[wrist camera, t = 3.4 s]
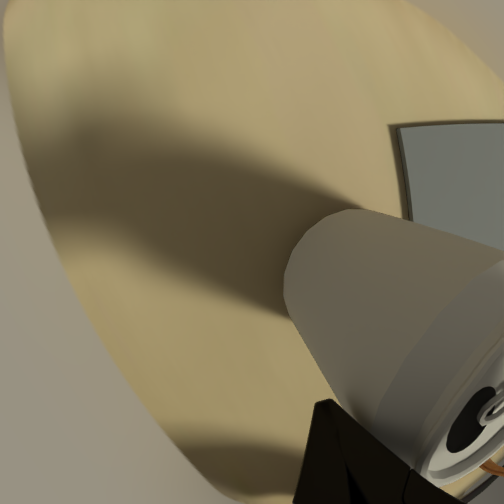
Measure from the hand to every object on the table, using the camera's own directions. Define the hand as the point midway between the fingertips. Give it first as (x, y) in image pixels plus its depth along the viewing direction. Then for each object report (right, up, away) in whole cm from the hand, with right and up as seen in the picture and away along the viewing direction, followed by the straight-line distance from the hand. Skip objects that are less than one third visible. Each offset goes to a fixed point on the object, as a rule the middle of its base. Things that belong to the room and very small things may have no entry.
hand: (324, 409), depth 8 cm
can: (+3, +3, +9) cm, 10 cm away
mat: (+16, +6, +9) cm, 19 cm away
